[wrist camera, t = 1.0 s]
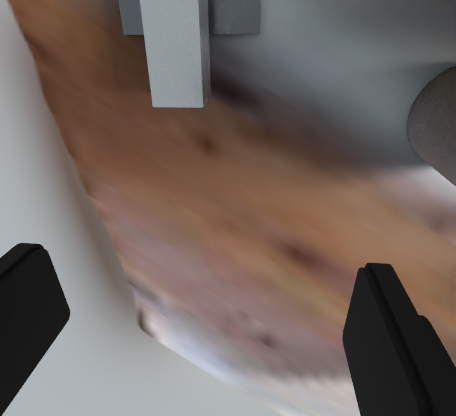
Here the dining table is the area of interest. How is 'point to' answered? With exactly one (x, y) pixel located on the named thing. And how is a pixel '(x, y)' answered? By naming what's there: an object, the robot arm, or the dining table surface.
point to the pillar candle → (436, 124)
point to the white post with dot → (177, 52)
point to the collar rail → (217, 15)
